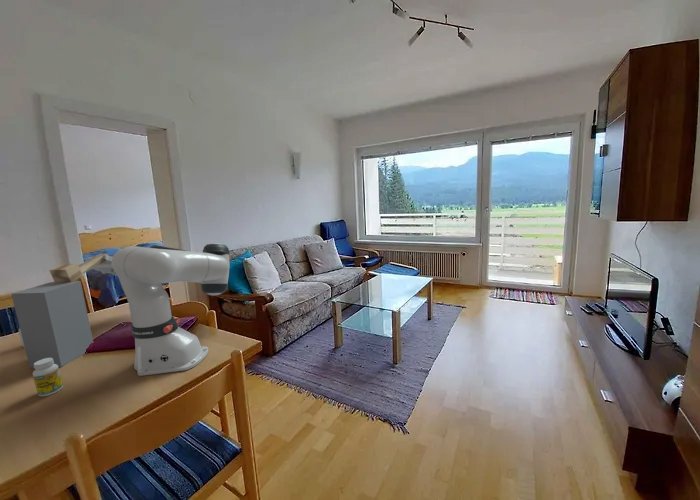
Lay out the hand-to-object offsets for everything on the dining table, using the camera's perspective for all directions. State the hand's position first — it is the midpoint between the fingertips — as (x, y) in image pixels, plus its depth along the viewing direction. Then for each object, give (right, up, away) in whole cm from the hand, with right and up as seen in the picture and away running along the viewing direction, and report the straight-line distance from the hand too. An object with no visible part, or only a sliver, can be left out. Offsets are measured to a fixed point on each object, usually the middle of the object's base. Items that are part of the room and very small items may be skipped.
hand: (98, 257), depth 125 cm
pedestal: (+1, -35, -16) cm, 39 cm away
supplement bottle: (+15, -38, -36) cm, 55 cm away
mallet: (0, -5, -6) cm, 8 cm away
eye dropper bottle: (-22, -34, -5) cm, 41 cm away
